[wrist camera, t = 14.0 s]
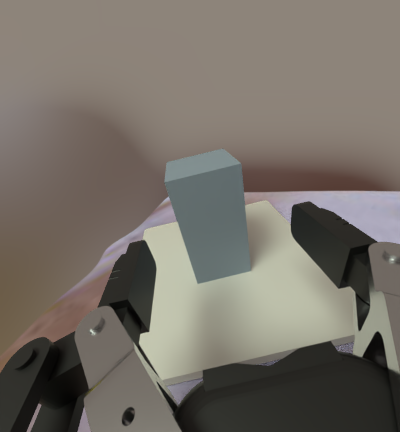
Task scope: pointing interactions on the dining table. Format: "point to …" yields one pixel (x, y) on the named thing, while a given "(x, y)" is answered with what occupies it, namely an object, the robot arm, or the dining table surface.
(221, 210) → the slate block
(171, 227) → the cream tile
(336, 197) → the dining table surface
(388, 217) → the dining table surface
